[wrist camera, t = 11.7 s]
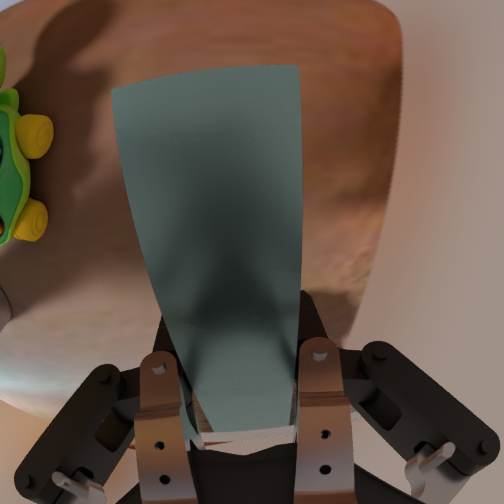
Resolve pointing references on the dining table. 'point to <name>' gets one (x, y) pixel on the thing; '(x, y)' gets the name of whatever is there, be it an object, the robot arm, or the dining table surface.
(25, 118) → the turtle toy
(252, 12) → the dining table surface
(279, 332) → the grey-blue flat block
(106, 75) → the dining table surface
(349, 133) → the dining table surface
